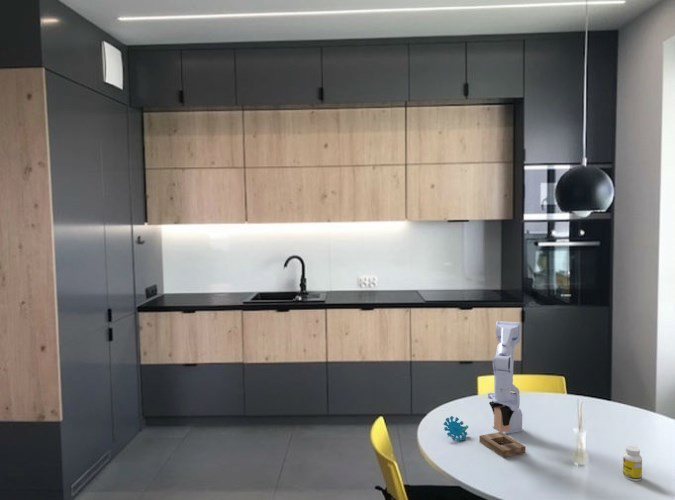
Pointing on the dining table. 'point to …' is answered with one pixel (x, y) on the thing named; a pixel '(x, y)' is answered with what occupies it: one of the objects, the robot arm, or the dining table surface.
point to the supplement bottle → (632, 464)
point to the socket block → (502, 450)
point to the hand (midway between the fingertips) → (502, 423)
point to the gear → (455, 428)
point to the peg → (499, 420)
